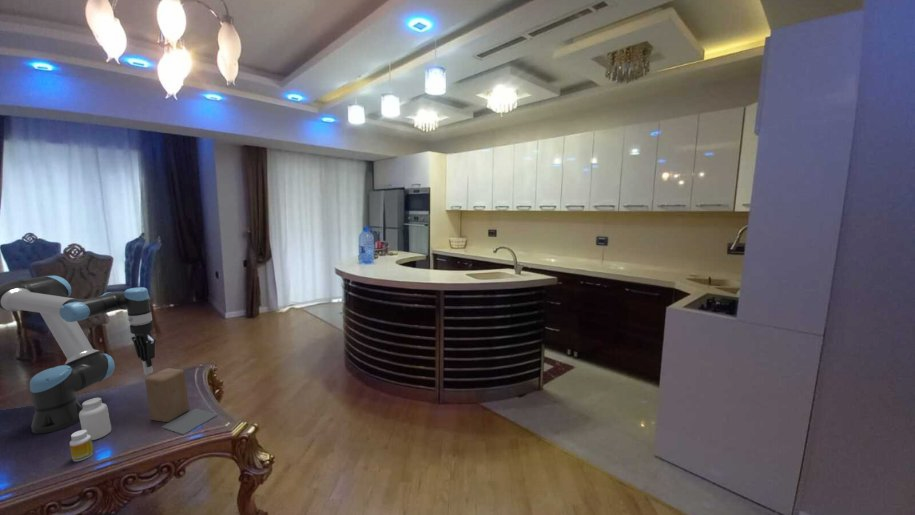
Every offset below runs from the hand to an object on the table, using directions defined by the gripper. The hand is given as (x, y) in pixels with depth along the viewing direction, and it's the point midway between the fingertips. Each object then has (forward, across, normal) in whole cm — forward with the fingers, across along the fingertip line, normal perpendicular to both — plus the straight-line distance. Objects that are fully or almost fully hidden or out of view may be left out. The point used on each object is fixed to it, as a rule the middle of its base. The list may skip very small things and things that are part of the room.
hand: (148, 372), depth 155 cm
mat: (+18, +24, 0) cm, 31 cm away
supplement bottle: (+18, +10, -28) cm, 35 cm away
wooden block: (+18, +12, 0) cm, 22 cm away
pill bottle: (+18, -2, -19) cm, 26 cm away
